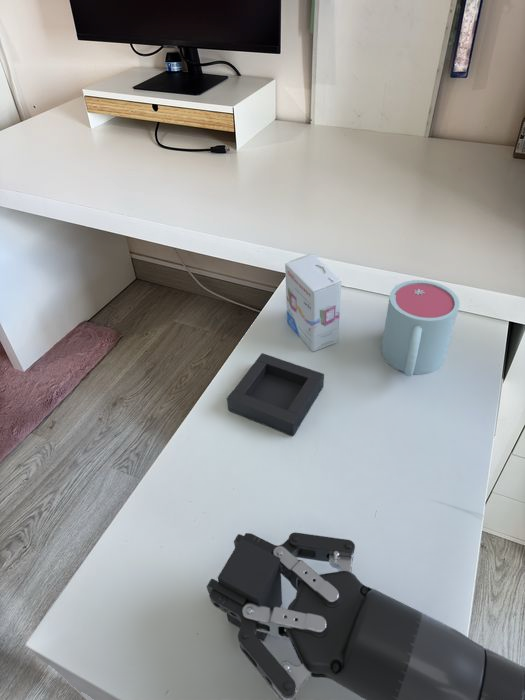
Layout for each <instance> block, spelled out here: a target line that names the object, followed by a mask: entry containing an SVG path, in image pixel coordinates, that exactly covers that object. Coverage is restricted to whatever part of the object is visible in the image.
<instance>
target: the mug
mask: <svg viewBox="0 0 525 700" xmlns="http://www.w3.org/2000/svg"><path fill="white" fill-rule="evenodd" d="M459 308H460V299H459V297H458V296H457V294H456V293H455V292H454V291H453V290H451V288H449V287H447V286H446V285H443V284H442V283H439V282H436V281H431V280H425V279H415V280H407V281H404V282H403V281H402V282H401V283H399V284H397V285H395V286H394V287H393V288H392V289H391V291H390V293H389V297H388V303H387V311H386V316H385V317H386V318H385V323H384V330H383V336H382V342H381V348H380V349H381V350H380V351H381V355H382V357H383V359H384V361H385V362H386V363H387V364H388V365H390V367H392V368H394V369H395V370H398V371H400V372H403V373H404V375H405V376H406V377H412V376H413V375H424V374H431V373H433V372H435V371H437V370H438V369H440V368H441V367H442V366H443V364H444V362H445V358H446V356H447V352H448V348H449V345H450V342H451V338H452V334H453V331H454V327H455V324H456V323H455V322H456V319H457V317H458V312H459Z"/></svg>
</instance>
